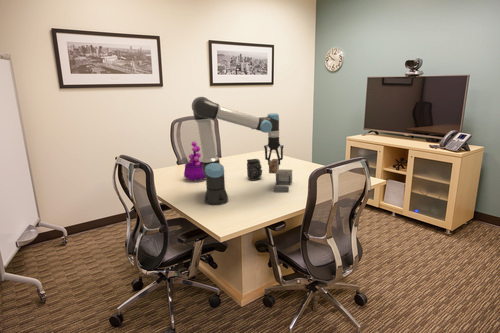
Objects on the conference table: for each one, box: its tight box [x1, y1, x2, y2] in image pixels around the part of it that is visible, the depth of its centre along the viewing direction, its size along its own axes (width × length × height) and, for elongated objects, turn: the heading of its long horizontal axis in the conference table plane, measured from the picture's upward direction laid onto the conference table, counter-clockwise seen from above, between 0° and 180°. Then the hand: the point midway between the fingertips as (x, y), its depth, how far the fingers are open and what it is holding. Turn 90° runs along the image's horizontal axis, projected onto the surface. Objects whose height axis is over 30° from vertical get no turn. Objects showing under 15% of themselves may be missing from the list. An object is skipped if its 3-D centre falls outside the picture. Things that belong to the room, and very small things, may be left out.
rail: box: [268, 158, 278, 175], centre depth 229 cm, size 4×16×6 cm, turn 166°
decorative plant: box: [183, 141, 206, 182], centre depth 252 cm, size 19×18×30 cm
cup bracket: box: [275, 168, 293, 186], centre depth 238 cm, size 12×6×10 cm, turn 78°
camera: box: [246, 158, 263, 181], centre depth 251 cm, size 10×10×15 cm
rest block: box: [272, 185, 290, 193], centre depth 224 cm, size 10×4×4 cm, turn 78°
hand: (274, 169), depth 230 cm, fingers closed on rail, 5 cm apart
